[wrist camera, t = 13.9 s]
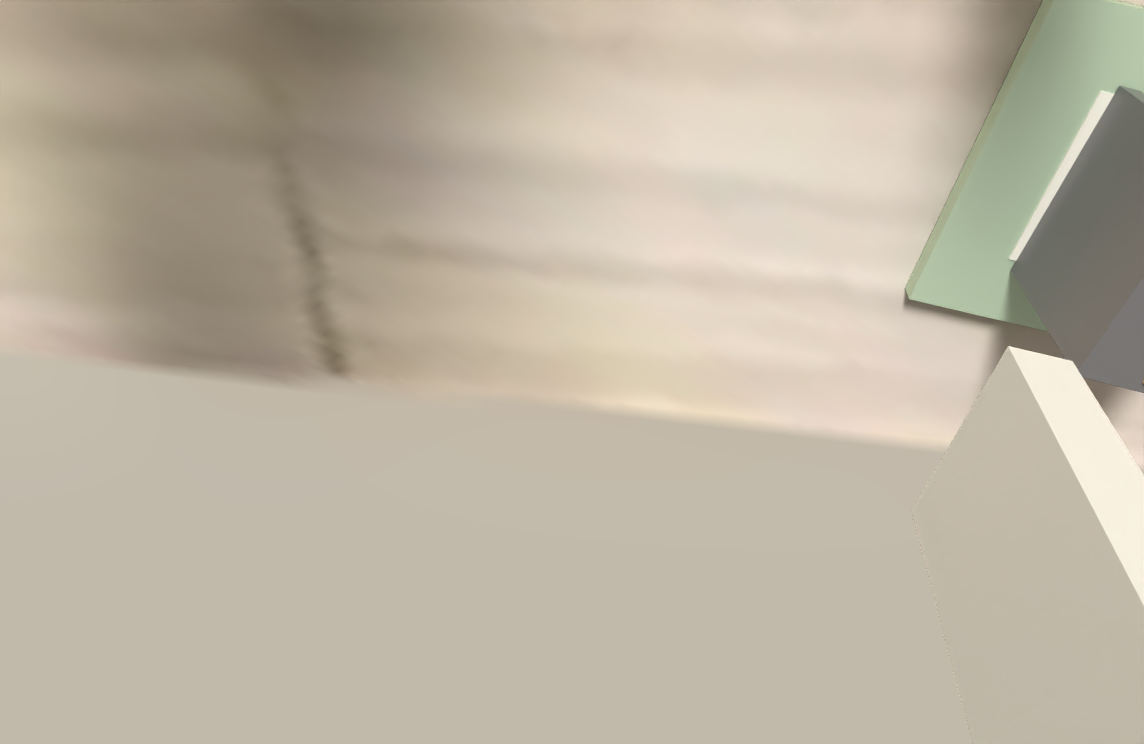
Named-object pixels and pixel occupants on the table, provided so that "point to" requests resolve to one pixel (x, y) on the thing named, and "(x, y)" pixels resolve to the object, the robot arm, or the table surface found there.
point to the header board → (1028, 154)
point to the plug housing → (1096, 252)
